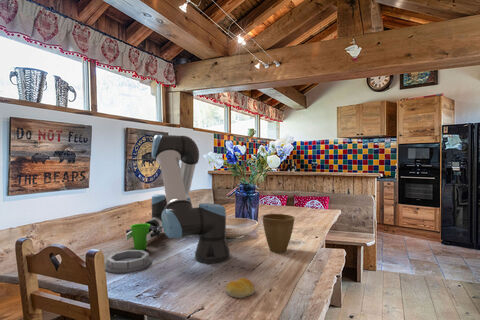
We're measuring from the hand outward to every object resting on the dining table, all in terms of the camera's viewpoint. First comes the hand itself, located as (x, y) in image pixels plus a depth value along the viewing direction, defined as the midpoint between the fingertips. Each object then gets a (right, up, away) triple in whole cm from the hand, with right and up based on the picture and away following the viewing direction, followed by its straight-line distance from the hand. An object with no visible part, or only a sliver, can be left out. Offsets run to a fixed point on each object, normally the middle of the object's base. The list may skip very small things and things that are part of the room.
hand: (136, 237), depth 131 cm
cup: (0, -7, +5) cm, 8 cm away
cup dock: (+2, -7, -15) cm, 16 cm away
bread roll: (+47, -7, -39) cm, 62 cm away
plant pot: (+65, -7, +3) cm, 66 cm away
